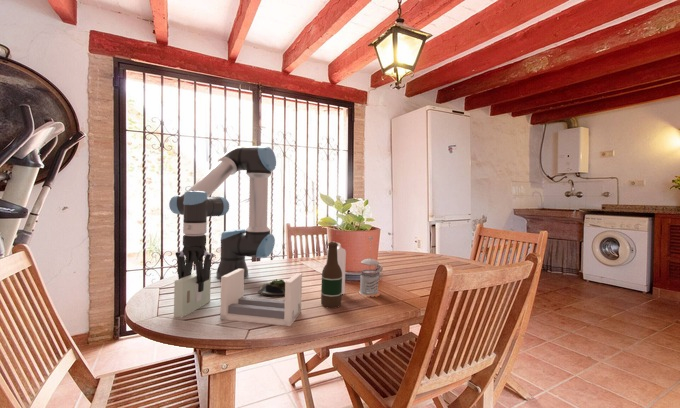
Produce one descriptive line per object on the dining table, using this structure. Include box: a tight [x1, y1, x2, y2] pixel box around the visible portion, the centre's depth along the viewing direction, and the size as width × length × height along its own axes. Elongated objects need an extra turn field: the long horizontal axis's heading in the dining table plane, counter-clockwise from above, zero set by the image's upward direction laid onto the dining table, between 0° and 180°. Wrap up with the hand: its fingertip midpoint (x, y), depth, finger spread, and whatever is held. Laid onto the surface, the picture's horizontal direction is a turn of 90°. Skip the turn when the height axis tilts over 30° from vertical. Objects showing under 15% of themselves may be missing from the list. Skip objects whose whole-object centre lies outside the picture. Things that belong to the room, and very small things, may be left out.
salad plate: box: [257, 278, 286, 298], centre depth 134 cm, size 19×18×5 cm
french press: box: [358, 236, 383, 295], centre depth 132 cm, size 10×12×25 cm
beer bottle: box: [320, 241, 342, 309], centre depth 117 cm, size 8×8×24 cm
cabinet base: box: [219, 269, 303, 327], centre depth 105 cm, size 24×12×14 cm, turn 81°
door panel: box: [173, 269, 212, 319], centre depth 109 cm, size 16×3×12 cm, turn 171°
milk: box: [325, 241, 347, 295], centre depth 131 cm, size 6×6×22 cm
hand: (193, 299), depth 109 cm, fingers closed on door panel, 3 cm apart
